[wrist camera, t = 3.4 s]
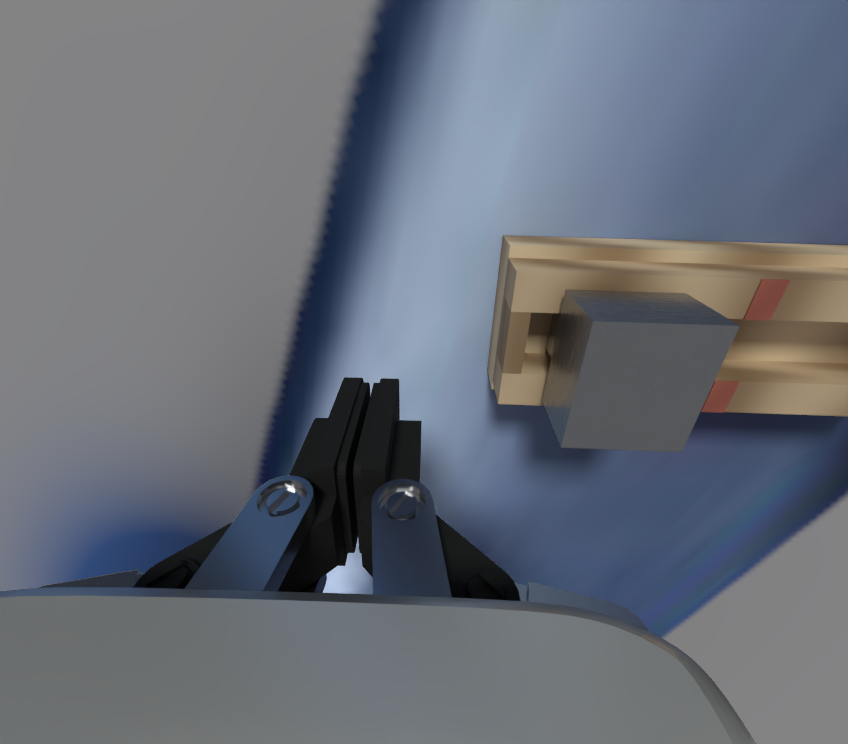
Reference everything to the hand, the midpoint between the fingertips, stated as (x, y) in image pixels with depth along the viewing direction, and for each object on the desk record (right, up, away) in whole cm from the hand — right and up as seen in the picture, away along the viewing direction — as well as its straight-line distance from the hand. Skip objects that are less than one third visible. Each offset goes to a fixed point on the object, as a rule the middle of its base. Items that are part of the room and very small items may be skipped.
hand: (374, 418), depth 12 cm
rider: (+9, +3, +5) cm, 11 cm away
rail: (+15, +4, +7) cm, 17 cm away
